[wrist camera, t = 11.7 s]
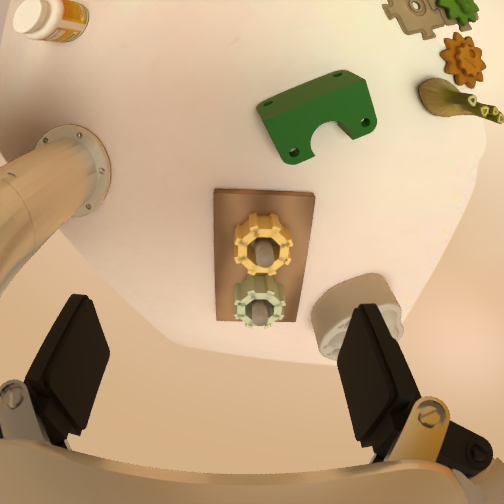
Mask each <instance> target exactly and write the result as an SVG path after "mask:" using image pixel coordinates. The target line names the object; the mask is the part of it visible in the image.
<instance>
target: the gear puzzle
mask: <svg viewBox="0 0 504 504" xmlns="http://www.w3.org/2000/svg"><path fill="white" fill-rule="evenodd" d="M387 1H388V3H389V4H388V5H387V4H382V7H383V9H384V11H385V13H386V15H387V17H388V19H389V20H392V19H393V18H394V17H396V19H397V21H398V23H399V25H400V27H401V29H402V30H403V32H404V33H405V34H407V35H411V34H415V33H419V32H421V33H422V38H423V40H427V39H432V38H435V37H436V35H435V33H434V32H433V31H432V30H433V29H436V28H439V27H443V26H444V25H447V26H449V25H454V24H458V25H459V30H460V31H461V32H463V31H467V30H471V29H472V28H471V26H470V25H469V22H476V20H478V14H477V11H479V8H478V7H477V5H476V4H475V3H474V1H473V0H387ZM413 2H415V3H417V5H418V9H415V8H414V7H413V5H412V3H413ZM444 43H445V46H446V48H447V49H446V50H444V51H442V52H441V54H440V55H441V56H442V57H443V59H444V60H446V61H447V66H446V70H445V71H446V73H448V74H454V75H455V80H456V83H457V85H463V84H464V83H466V84H467V86H468V87H469V88H471V89H472V88H474V87H475V83H476V81H479V82H482V81H483V75H482V72H481V71H482V70H484V69H485V68H486V65H485V63H484V62H483V61H482V60H481V56H482V50H481V49H480V48H477V47H474V43H473V40H472V38H471V37H469V36H468V37H465V38H463V37H462V36H461V35H460V34H459V33H458V32H454V34H453V39H450V38H444Z"/></svg>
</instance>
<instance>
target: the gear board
mask: <svg viewBox="0 0 504 504" xmlns="http://www.w3.org/2000/svg"><path fill="white" fill-rule="evenodd" d="M314 205H315V196H314V194H313V193H305V192H287V191H264V190H233V189H215V191H214V252H215V292H216V320H217V321H242V320H241V319H237V320H236V318H235V316H234V288H235V286H236V284H237V283H239V284H241V283H243V282H244V281H245V280H247V275H250V274H248V273H247V268H246V267H245V266H244V265H243V264H242V263H238V264H237V263H236V261H235V259H234V248H235V244H234V239H235V229H236V227H237V225H238V224H240V225H243V224H244V223H245V222H246V221H247V220H248V219H249V214H251V213H254V212H256V213H257V216H269V215H270V214H271V213H273V214H276V215H278V219H279V222H280V223H281V224H282V226H286V225H287V226H288V229H289V232H290V235H291V239H292V243H293V246H291V247H289V250H290V254H291V261H290V263H289V264H288V265H286V264H283V265H282V266H281V267H279V268H278V269H277V270H276V274H274V275H271V276H273V281H274V282H275V283H276V284H277V285H279V284H281V285H282V287H283V291H284V297H285V303H286V306H283V310H284V317H283V318H282V320H279V319H277V320H276V321H274V322H296V318H297V312H298V307H299V301H300V295H301V290H302V284H303V278H304V272H305V265H306V259H307V253H308V246H309V240H310V233H311V226H312V219H313V212H314ZM276 243H277V242H276V241H275V240H274V239H273V238H272V237H257V238H256V239H255V240H253V241H252V242H251V243H250V244H249V245H250V246H251V247H252V248H253V249H254V250H255V252H256V263H257V264H258V266H260V267H262V268H267V267H270V266H271V265H272V264H273V263H274V254H273V248H272V246H273V245H275V244H276ZM266 274H268V273H256V274H255V275H254V276H261V277H265V276H266ZM266 301H268V300H267V299H254V300H252V301H251V303H252V322H253V323H254V324H255V325H257V326H263V325H265V324H267V322H268V312H267V302H266Z"/></svg>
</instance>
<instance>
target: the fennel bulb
mask: <svg viewBox="0 0 504 504" xmlns="http://www.w3.org/2000/svg"><path fill="white" fill-rule="evenodd" d="M419 94H420V96H421V99H422V102H423V104H424V106H425V108H426V109H427V110H428V111H429V112H430V113H432V114H433V115H436V116H441V117H451V116H456V115H475V116H479V117H482V118H485V119H488V120H491V121H493V122H496V123H499V124H501V123H503V122H504V116H503V114H502V113H501V112H499V111H498V109H497V108H496V107H495V106H490V105H485V104H481V103H478V102H477V97H476V96H475V95H473V94H467V93H461V92H460V91H459V90H458V89H457V88H456V87H455V86H454V85H452V84H451V83H450V82H448V81H447V80H444V79H441V78H433V79H430V80H427V81H426V82H424V83H423V84H422V85H421V86H420V87H419Z"/></svg>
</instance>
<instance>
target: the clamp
mask: <svg viewBox="0 0 504 504" xmlns="http://www.w3.org/2000/svg"><path fill="white" fill-rule="evenodd" d="M256 109H257V111H258V113H259V115H260V117H261V119H262V121H263V123H264V124H265V126H266V128H267V130H268V132H269V134H270V136H271V138H272V140H273V142H274V144H275V146H276V148H277V150H278V152H279V154H280V156H281V158H282V160H283V161H284V162H285V163H287V164H290V165H295V164H298V163H300V162H303V161H305V160H307V159H310V158H312V157H314V156H315V155H314V153H313V152H312V150H311V146H310V141H311V137H312V134H313V133H314V131H315V130H316V129H317V128H318V127H319V126H320V125H321V124H323V123H325V122H329V121H337V123H338V126H339V127H340V128H341V129H342V130H343V131H344V132H345V133H346V134H347V135H348V136H349V137H350V138H351V139H352V140H354V139H357V138H359V137H362V136H364V135H366V134H369V133H371V132H372V131H373V130H374V129H375V127H376V125H377V118H376V114H375V111H374V107H373V104H372V100H371V97H370V93H369V90H368V87H367V84H366V80H365V79H363V78H361V77H359V76H357V75H355V74H353V73H351V72H349V71H346V70H341V71H336V72H333V73H330V74H328V75H325V76H322V77H320V78H317V79H315V80H312V81H309V82H307V83H304V84H302V85H300V86H297V87H295V88H292V89H290V90H288V91H285V92H283V93H281V94H278V95H276V96H274V97H272V98H269V99H267V100H265V101H263V102H261V103H260V104H259V105H258V106H257V108H256ZM362 119H364V121H363V122H361V120H362ZM292 148H296V149H295V150H294V151H292V152H289V151H290V150H291V149H292Z"/></svg>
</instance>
